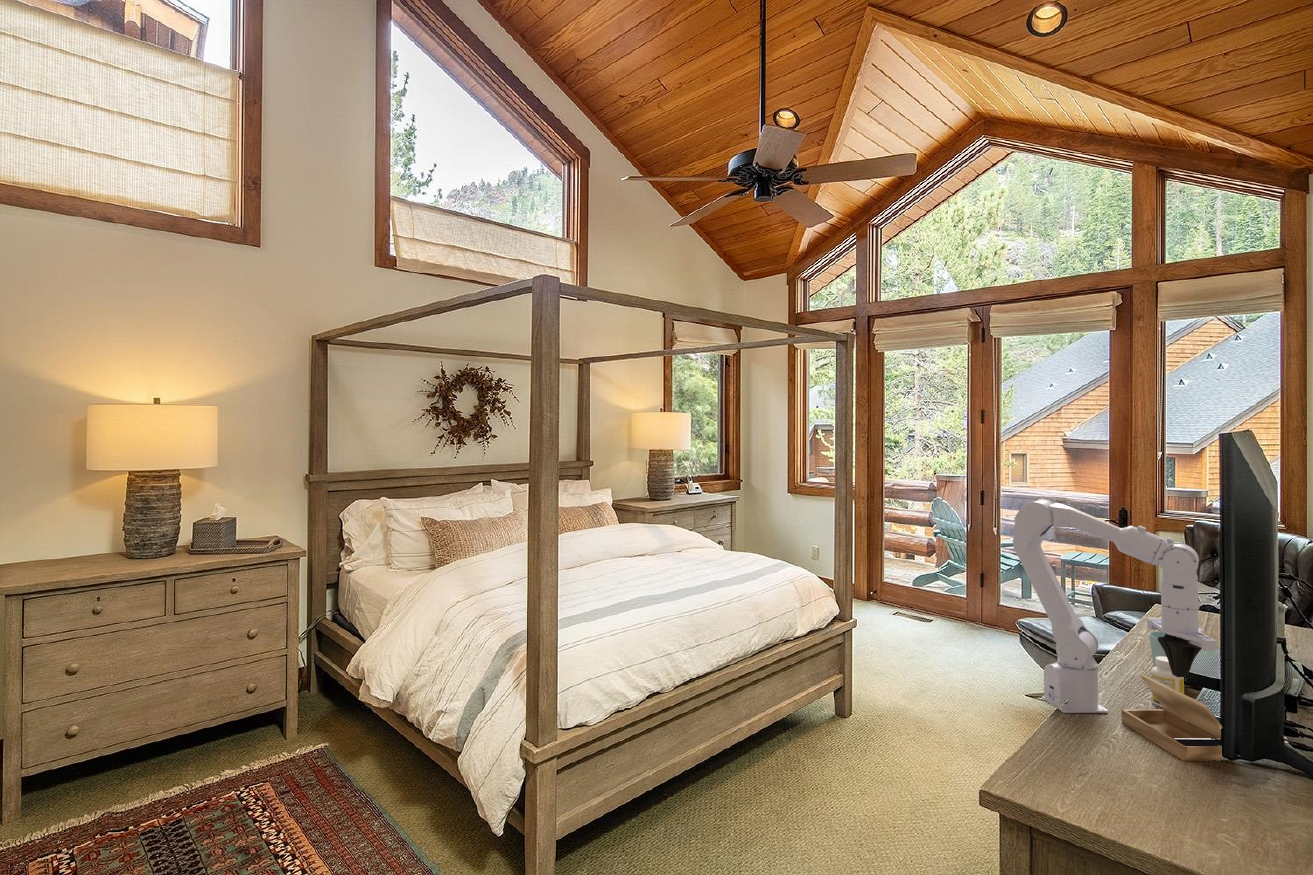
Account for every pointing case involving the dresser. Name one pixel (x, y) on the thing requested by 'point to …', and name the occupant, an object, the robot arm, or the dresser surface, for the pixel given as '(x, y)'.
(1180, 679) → the supplement bottle
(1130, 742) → the dresser surface
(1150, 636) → the cup
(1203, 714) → the lid flap
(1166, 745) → the carton
